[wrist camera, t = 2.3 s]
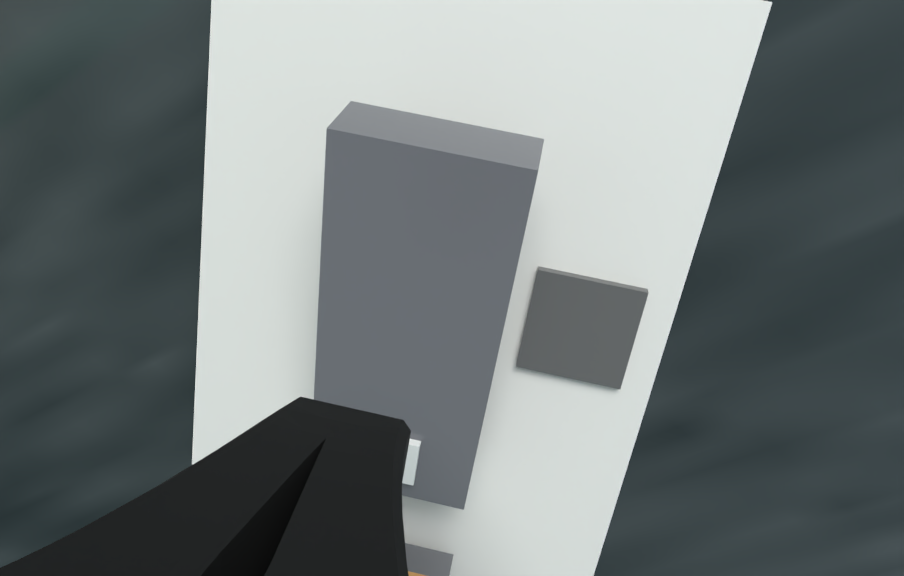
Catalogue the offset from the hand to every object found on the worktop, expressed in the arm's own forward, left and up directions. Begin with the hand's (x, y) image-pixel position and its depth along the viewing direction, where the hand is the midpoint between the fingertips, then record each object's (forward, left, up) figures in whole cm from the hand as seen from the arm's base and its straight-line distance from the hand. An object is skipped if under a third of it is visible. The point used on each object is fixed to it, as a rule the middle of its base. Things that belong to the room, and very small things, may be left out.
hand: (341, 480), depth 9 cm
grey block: (0, 0, -4) cm, 4 cm away
